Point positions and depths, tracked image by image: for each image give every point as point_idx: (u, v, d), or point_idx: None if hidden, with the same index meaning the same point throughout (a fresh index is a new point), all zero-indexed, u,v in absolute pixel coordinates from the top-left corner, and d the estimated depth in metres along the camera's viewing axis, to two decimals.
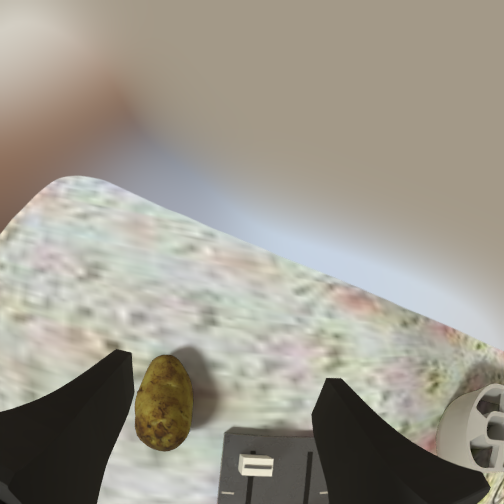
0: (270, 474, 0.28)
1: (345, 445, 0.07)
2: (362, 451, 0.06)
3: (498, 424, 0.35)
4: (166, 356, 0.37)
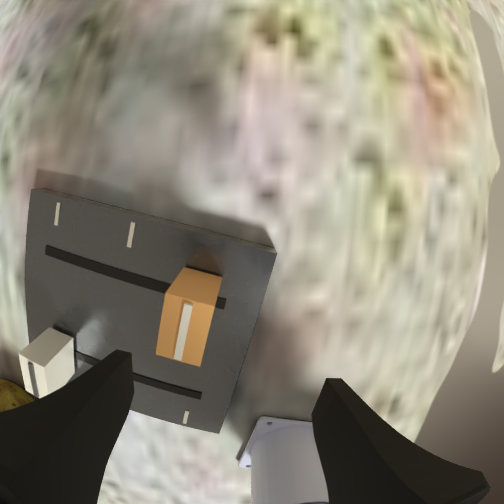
0: (41, 368, 0.15)
1: (345, 444, 0.07)
2: (362, 451, 0.06)
3: None
4: None
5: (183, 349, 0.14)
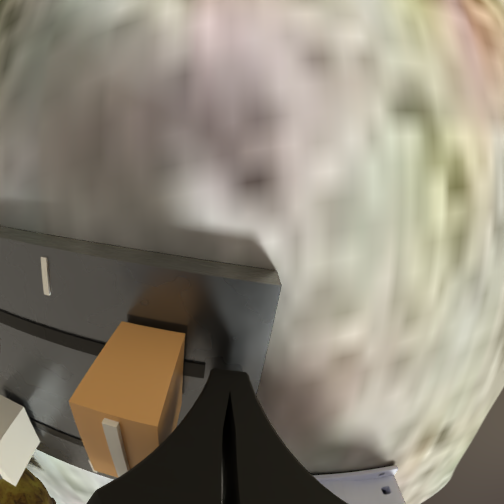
0: None
1: (229, 443, 0.07)
2: (233, 452, 0.06)
3: None
4: None
5: None
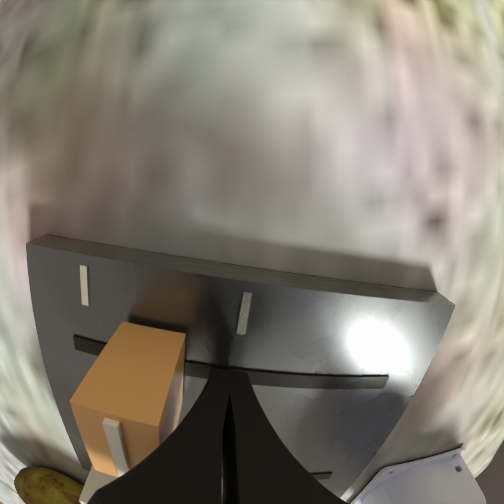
0: None
1: (229, 443, 0.07)
2: (233, 452, 0.06)
3: None
4: (18, 492, 0.13)
5: None
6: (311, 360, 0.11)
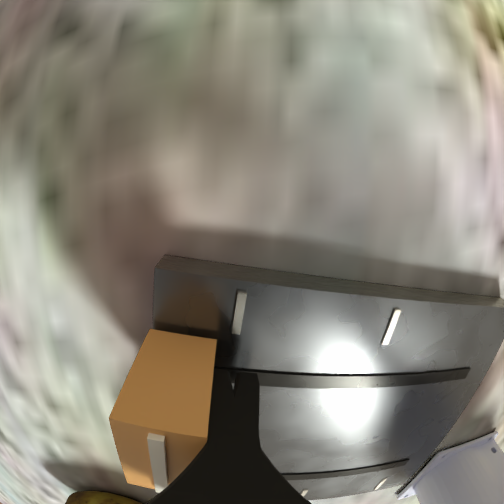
0: None
1: None
2: None
3: None
4: None
5: (167, 483, 0.06)
6: (426, 360, 0.11)
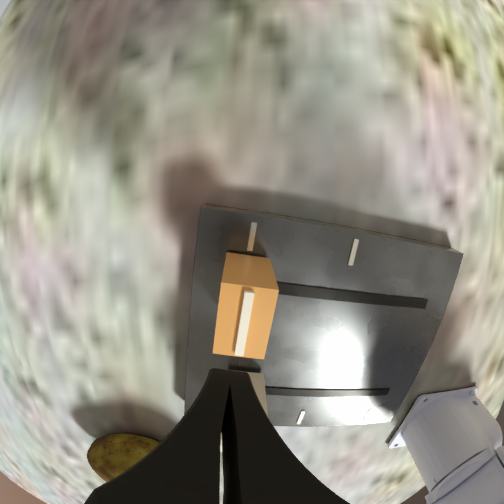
0: None
1: (230, 443, 0.07)
2: (234, 452, 0.06)
3: None
4: (90, 464, 0.20)
5: (245, 343, 0.13)
6: (386, 284, 0.18)
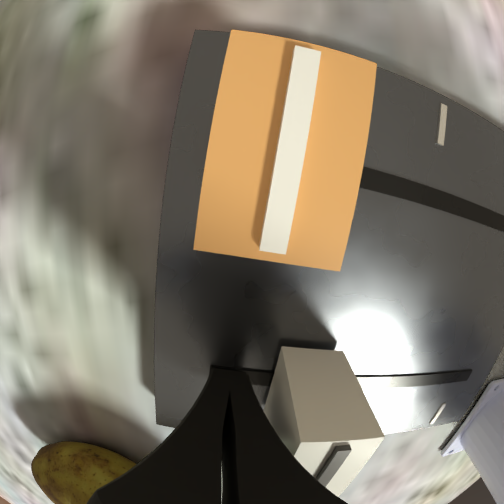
0: (373, 441, 0.06)
1: (229, 442, 0.07)
2: (232, 452, 0.06)
3: None
4: (35, 479, 0.11)
5: (293, 209, 0.04)
6: (484, 189, 0.09)
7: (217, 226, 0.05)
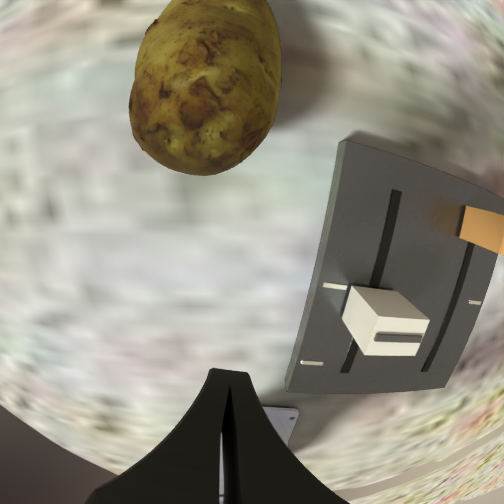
0: (414, 351, 0.15)
1: (230, 443, 0.07)
2: (234, 452, 0.06)
3: None
4: None
5: None
6: (450, 332, 0.20)
7: None
